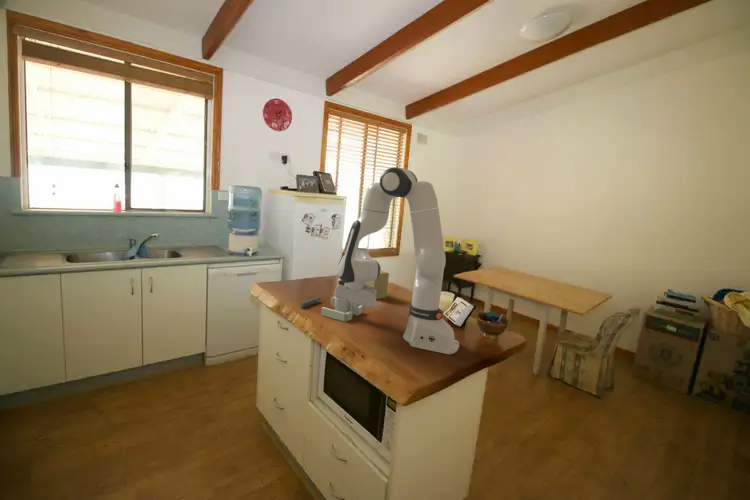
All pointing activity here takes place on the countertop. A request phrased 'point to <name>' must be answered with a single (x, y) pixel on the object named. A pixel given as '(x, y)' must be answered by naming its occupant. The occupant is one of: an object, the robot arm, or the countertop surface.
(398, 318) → the countertop surface
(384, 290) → the khaki rectangular box
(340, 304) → the cup
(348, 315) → the cradle
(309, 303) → the rail
